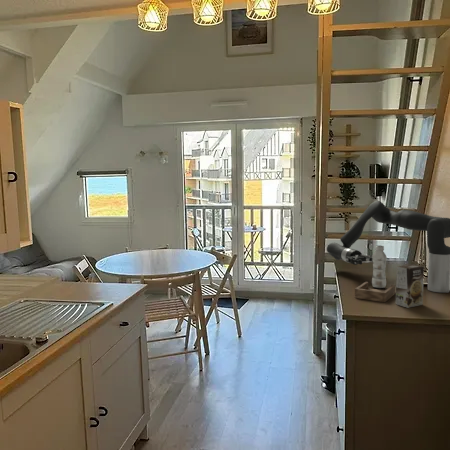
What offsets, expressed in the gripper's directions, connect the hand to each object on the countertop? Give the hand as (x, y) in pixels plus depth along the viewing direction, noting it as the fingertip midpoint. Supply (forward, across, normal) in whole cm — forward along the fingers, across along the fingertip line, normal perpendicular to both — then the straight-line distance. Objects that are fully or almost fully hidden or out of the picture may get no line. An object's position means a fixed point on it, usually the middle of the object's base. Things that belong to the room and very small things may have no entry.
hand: (369, 261), depth 211 cm
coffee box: (+35, -4, +11) cm, 37 cm away
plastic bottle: (+8, 0, +11) cm, 14 cm away
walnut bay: (+19, -10, +11) cm, 24 cm away
